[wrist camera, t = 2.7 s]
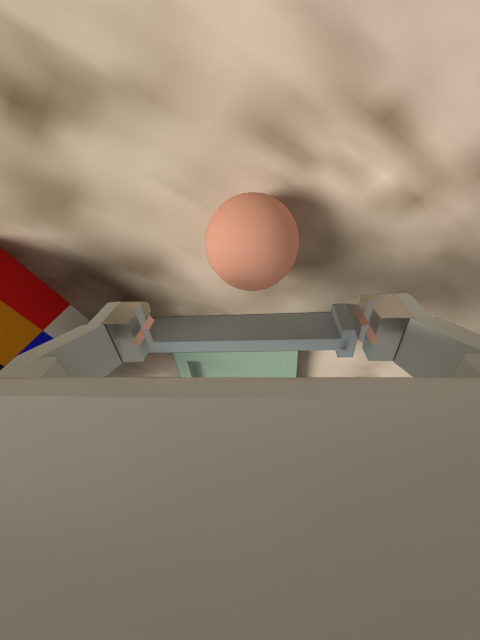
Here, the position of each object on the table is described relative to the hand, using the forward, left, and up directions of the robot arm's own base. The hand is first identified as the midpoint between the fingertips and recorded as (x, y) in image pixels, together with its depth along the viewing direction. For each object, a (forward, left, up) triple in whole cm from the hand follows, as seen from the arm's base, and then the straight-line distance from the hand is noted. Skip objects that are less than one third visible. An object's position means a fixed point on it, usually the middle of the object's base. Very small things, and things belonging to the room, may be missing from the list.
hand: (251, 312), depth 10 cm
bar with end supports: (+6, -3, -8) cm, 10 cm away
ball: (-1, 0, -5) cm, 5 cm away
